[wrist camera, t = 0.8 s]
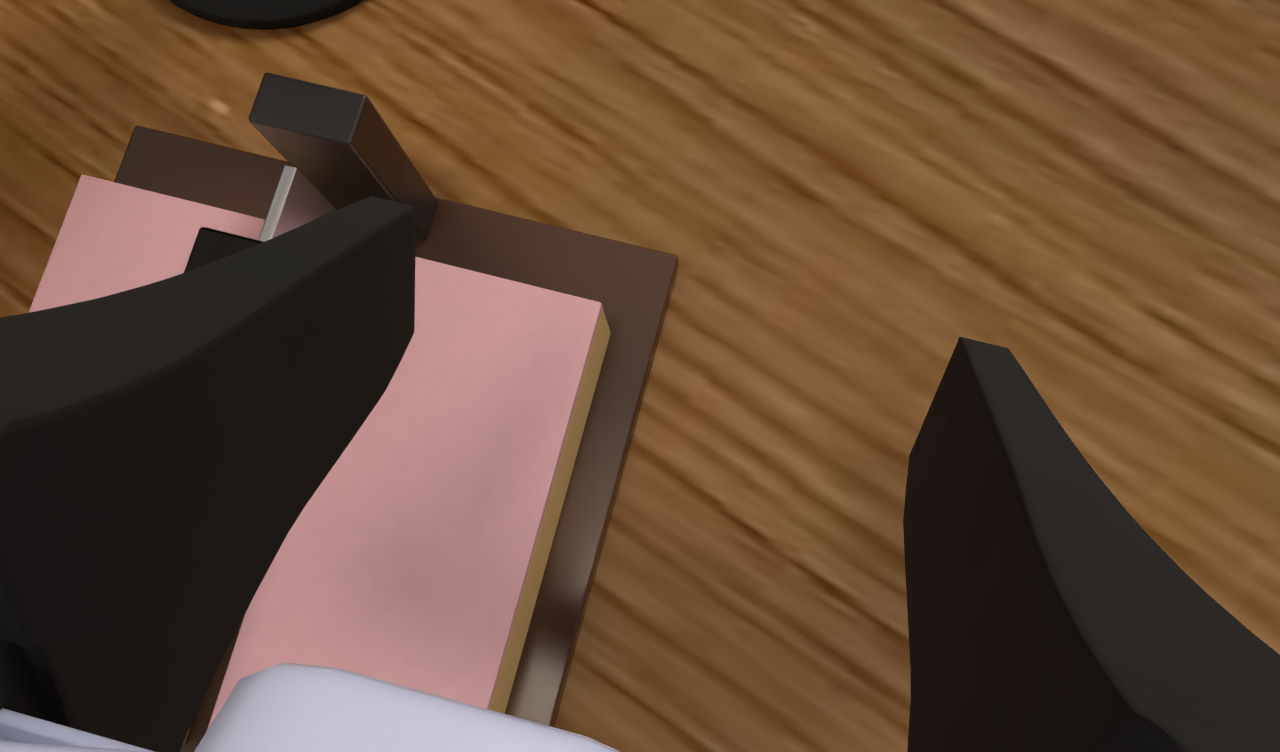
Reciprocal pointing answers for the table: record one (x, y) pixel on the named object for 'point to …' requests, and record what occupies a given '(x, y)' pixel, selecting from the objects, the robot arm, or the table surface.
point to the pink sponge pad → (396, 463)
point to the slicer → (470, 239)
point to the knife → (286, 212)
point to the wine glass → (263, 11)
